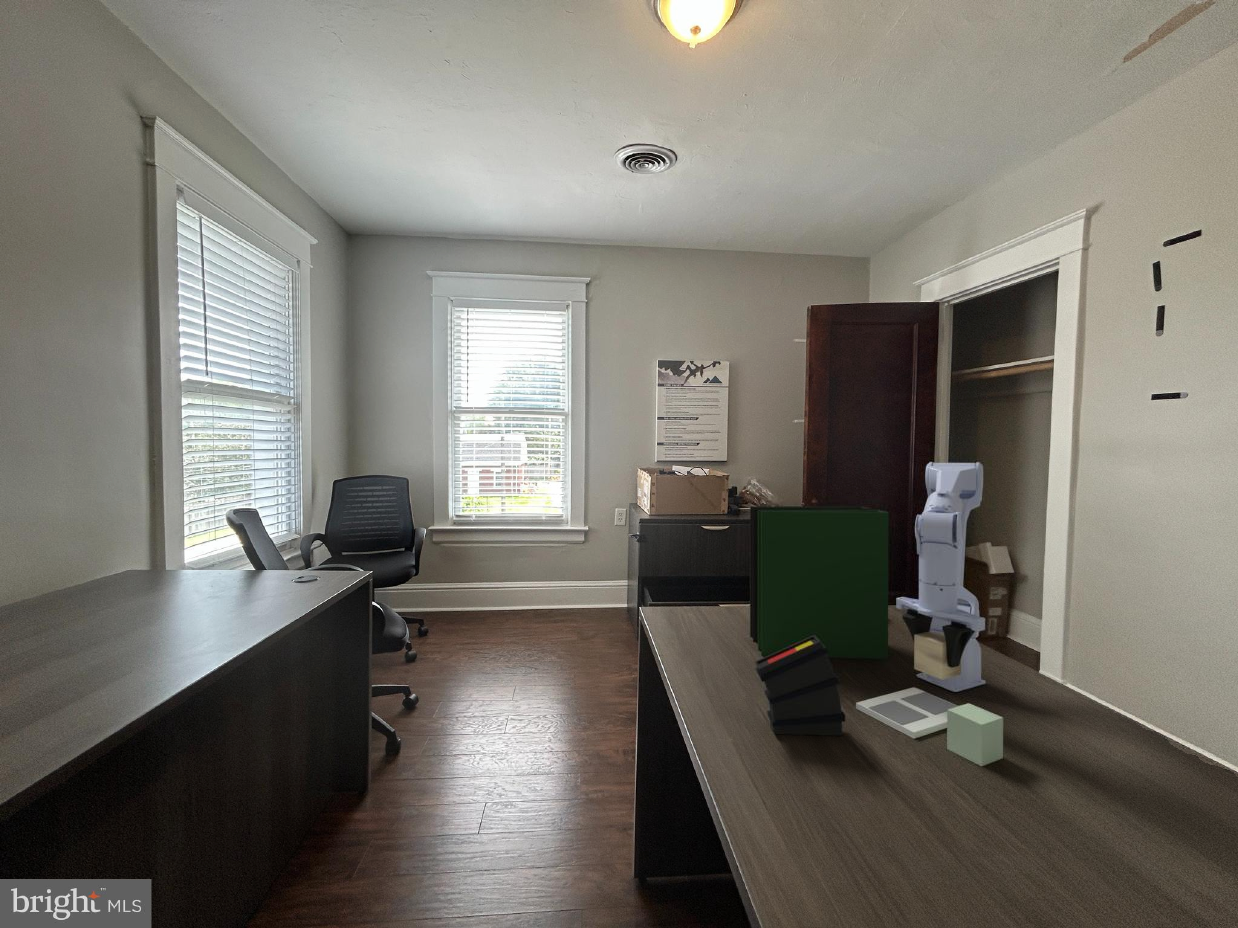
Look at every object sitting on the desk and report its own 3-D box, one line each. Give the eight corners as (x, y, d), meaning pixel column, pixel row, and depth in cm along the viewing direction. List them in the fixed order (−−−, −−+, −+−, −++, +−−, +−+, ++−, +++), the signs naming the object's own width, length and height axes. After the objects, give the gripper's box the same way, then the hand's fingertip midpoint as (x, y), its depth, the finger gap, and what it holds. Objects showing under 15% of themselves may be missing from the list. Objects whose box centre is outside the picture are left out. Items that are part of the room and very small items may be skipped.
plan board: (914, 692, 99) (914, 686, 99) (974, 718, 89) (974, 712, 89) (856, 708, 93) (856, 702, 93) (913, 738, 83) (913, 731, 83)
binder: (762, 656, 117) (762, 512, 117) (748, 634, 132) (748, 505, 132) (888, 658, 116) (888, 512, 115) (860, 635, 131) (860, 506, 130)
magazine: (865, 727, 83) (823, 641, 83) (787, 761, 84) (746, 675, 84) (855, 715, 87) (815, 633, 87) (781, 748, 88) (742, 666, 88)
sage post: (968, 741, 82) (968, 703, 82) (1002, 758, 78) (1003, 717, 78) (947, 748, 80) (947, 709, 80) (981, 766, 76) (981, 724, 76)
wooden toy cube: (933, 663, 95) (933, 630, 95) (961, 674, 90) (961, 639, 90) (914, 668, 93) (914, 634, 93) (942, 679, 88) (942, 643, 88)
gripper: (884, 575, 96) (884, 649, 97) (965, 594, 83) (965, 680, 83) (911, 571, 99) (910, 644, 100) (993, 589, 86) (992, 672, 86)
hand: (937, 660), depth 92 cm, fingers closed on wooden toy cube, 5 cm apart
